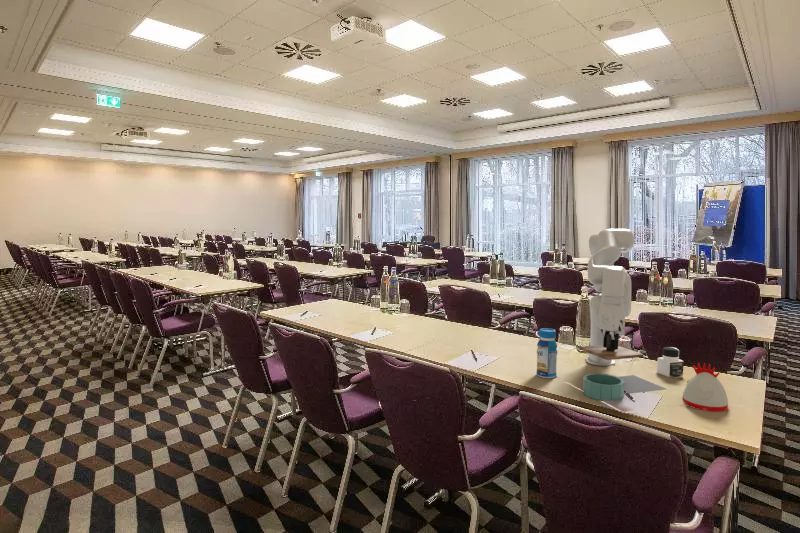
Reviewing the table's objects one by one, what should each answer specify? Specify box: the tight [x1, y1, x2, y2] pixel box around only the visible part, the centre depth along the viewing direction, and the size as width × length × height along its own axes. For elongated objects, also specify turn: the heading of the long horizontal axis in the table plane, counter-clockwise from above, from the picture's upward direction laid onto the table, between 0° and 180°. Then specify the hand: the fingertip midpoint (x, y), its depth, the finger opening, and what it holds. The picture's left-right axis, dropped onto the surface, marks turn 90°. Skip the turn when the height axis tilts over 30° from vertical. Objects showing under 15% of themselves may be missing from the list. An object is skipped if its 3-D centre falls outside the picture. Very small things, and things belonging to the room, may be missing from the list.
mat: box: [618, 374, 667, 394], centre depth 196 cm, size 18×18×1 cm
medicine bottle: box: [656, 346, 684, 379], centre depth 208 cm, size 7×7×12 cm
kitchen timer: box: [682, 362, 729, 412], centre depth 176 cm, size 14×14×15 cm
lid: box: [578, 334, 645, 361], centre depth 186 cm, size 16×16×7 cm
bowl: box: [582, 372, 625, 402], centre depth 185 cm, size 14×14×6 cm
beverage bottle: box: [536, 327, 558, 379], centre depth 208 cm, size 8×8×20 cm
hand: (610, 347), depth 186 cm, fingers closed on lid, 3 cm apart
